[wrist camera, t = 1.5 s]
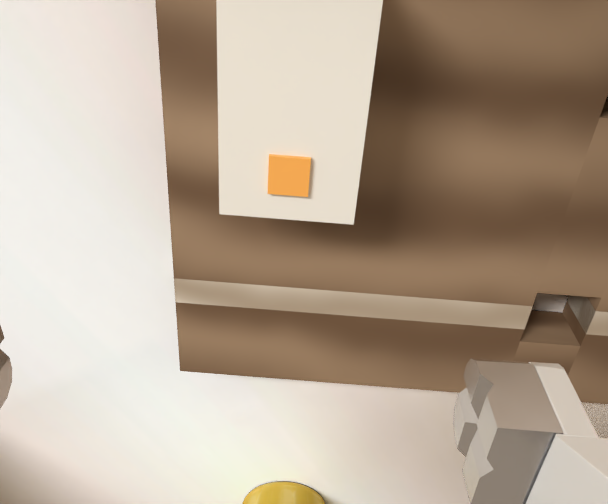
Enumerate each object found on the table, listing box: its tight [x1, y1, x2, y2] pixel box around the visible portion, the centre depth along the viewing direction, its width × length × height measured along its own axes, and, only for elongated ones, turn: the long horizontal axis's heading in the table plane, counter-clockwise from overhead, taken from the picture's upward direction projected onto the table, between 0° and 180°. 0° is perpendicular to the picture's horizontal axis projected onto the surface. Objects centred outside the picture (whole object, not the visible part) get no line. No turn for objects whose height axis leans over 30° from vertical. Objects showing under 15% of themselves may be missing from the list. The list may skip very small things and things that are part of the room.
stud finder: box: [216, 0, 383, 225], centre depth 23 cm, size 9×6×5 cm, turn 176°
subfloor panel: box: [156, 0, 608, 404], centre depth 29 cm, size 24×26×3 cm
